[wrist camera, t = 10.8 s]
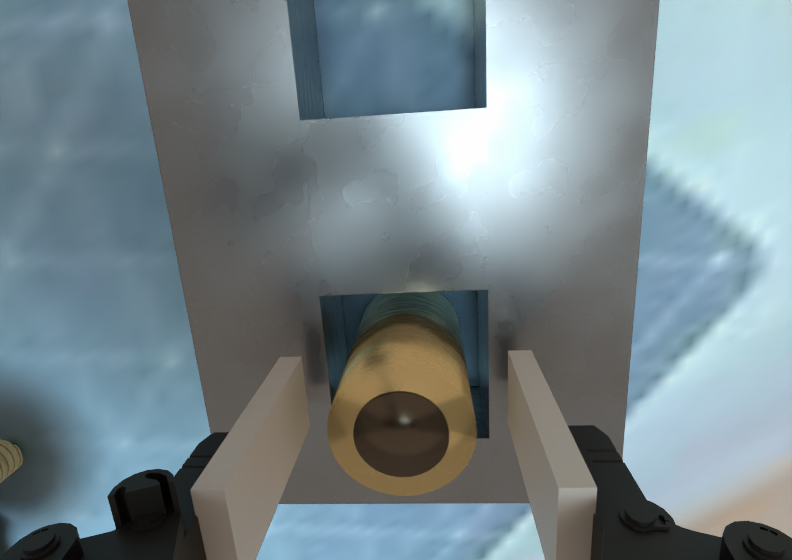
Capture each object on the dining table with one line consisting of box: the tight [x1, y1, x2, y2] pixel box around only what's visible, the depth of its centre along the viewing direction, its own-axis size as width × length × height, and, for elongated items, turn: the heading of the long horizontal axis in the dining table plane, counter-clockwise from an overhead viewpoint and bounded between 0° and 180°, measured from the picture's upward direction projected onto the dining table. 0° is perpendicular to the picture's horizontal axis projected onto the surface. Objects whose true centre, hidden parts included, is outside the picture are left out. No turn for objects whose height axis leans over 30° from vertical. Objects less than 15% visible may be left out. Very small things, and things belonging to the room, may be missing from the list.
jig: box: [128, 0, 659, 504], centre depth 18 cm, size 24×16×4 cm, turn 4°
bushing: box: [327, 291, 477, 496], centre depth 18 cm, size 4×4×8 cm
